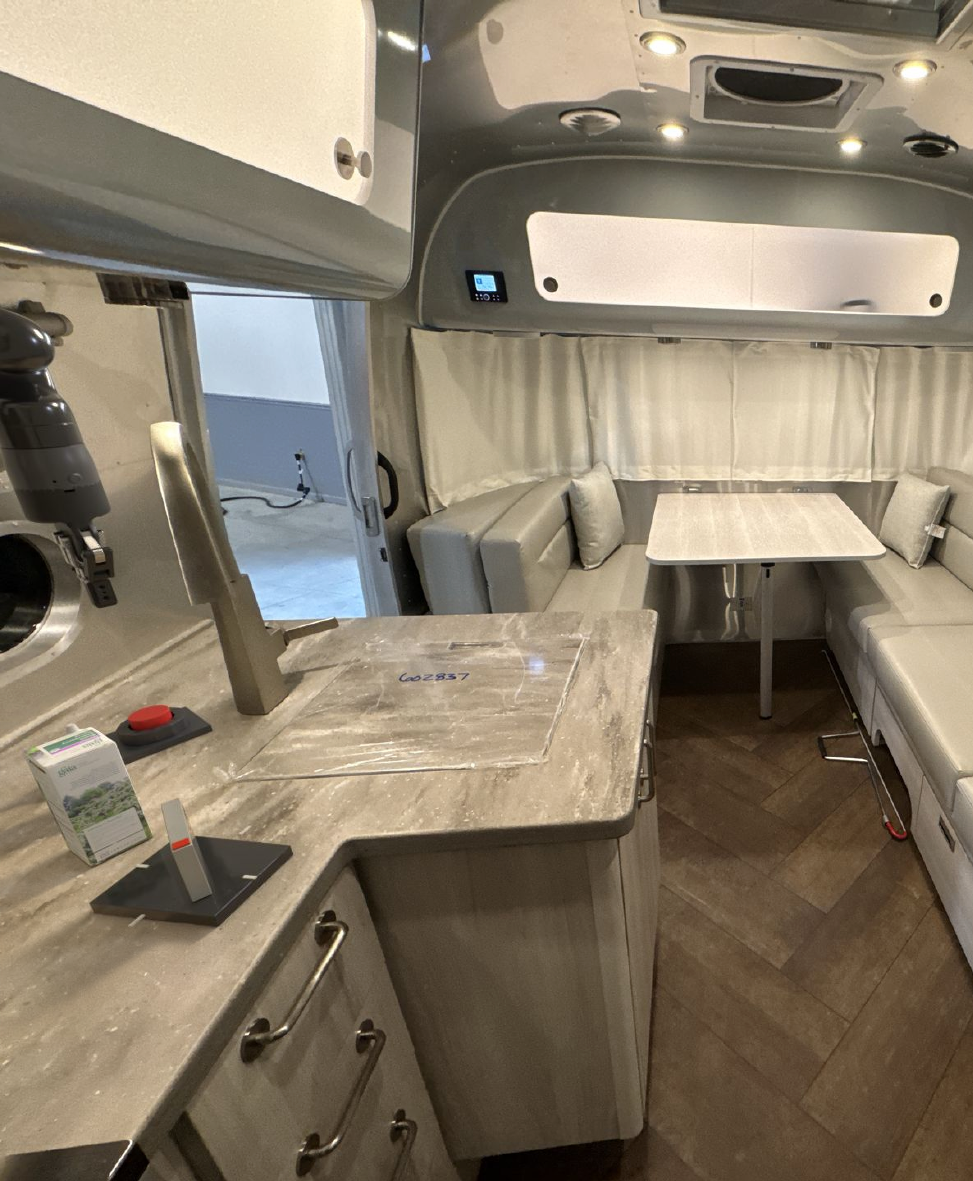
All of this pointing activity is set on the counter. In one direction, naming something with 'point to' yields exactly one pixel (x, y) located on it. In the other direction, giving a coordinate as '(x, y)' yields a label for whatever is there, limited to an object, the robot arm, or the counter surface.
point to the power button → (150, 717)
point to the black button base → (158, 735)
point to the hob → (165, 894)
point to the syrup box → (89, 794)
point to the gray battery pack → (185, 849)
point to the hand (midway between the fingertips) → (106, 605)
